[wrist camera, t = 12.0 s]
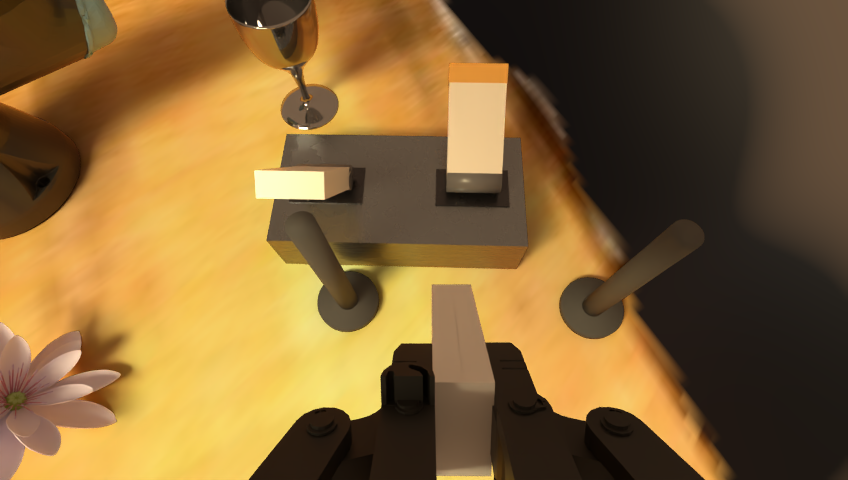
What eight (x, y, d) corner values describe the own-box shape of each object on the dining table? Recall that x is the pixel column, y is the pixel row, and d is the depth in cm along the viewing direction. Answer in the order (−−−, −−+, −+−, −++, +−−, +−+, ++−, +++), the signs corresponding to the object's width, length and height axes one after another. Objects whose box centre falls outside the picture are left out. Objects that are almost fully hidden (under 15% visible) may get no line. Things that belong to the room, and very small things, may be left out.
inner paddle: (353, 189, 43) (324, 202, 32) (302, 188, 43) (256, 200, 32) (353, 164, 42) (323, 168, 31) (301, 163, 42) (254, 167, 31)
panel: (516, 268, 45) (528, 245, 40) (286, 263, 46) (265, 239, 40) (510, 170, 50) (520, 137, 44) (302, 166, 51) (286, 133, 45)
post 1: (309, 291, 45) (239, 209, 28) (362, 264, 46) (324, 169, 29) (334, 343, 42) (273, 287, 26) (389, 313, 43) (364, 241, 27)
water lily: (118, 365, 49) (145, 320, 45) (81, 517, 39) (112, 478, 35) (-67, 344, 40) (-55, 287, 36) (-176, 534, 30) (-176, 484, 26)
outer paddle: (501, 194, 40) (508, 63, 38) (446, 193, 40) (449, 62, 38) (498, 192, 42) (504, 68, 40) (445, 191, 42) (448, 68, 40)
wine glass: (292, 142, 52) (242, 39, 38) (267, 97, 55) (213, -15, 41) (352, 115, 53) (325, 6, 40) (325, 72, 56) (291, -43, 42)
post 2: (547, 297, 44) (617, 217, 27) (595, 269, 45) (690, 176, 29) (584, 350, 42) (684, 298, 25) (633, 320, 43) (760, 250, 26)
